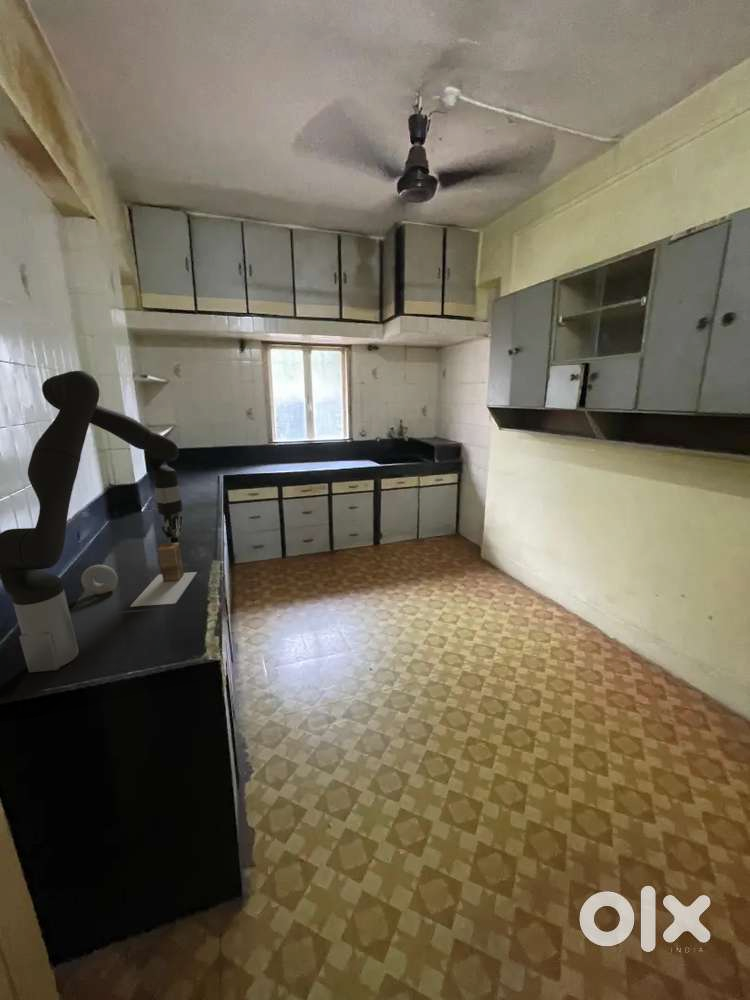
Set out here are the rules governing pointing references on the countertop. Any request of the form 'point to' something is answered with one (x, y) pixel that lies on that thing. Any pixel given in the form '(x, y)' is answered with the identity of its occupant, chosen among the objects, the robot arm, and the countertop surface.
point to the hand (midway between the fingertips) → (175, 546)
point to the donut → (95, 587)
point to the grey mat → (163, 591)
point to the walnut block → (171, 562)
